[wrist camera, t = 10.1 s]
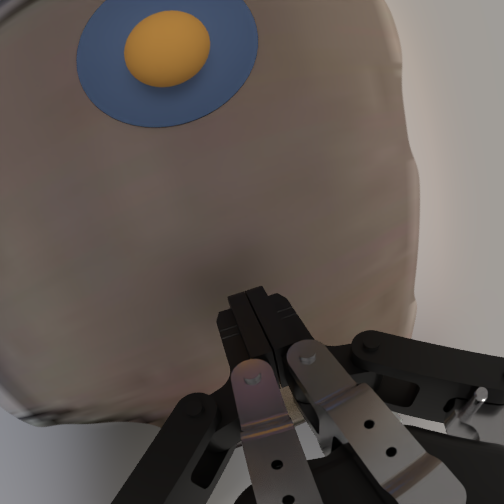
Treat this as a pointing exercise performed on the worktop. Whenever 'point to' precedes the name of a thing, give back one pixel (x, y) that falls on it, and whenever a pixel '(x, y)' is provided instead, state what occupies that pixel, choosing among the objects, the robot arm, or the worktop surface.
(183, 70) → the ball
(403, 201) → the worktop surface
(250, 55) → the disc
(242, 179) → the worktop surface
